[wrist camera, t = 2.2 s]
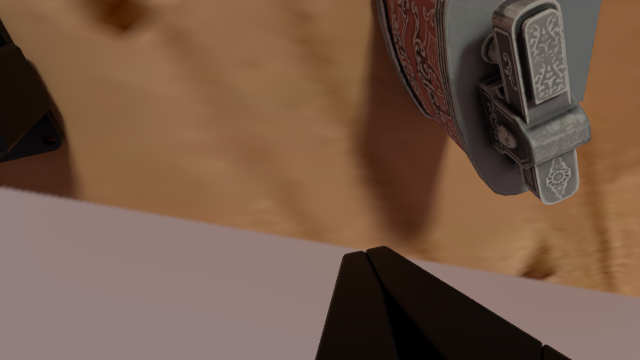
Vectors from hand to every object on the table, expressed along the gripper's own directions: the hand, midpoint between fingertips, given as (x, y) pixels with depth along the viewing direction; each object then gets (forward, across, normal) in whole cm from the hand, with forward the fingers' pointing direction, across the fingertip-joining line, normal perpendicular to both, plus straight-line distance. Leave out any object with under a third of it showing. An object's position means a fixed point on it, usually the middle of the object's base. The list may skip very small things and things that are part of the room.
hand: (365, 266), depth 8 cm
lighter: (+13, +6, 0) cm, 14 cm away
